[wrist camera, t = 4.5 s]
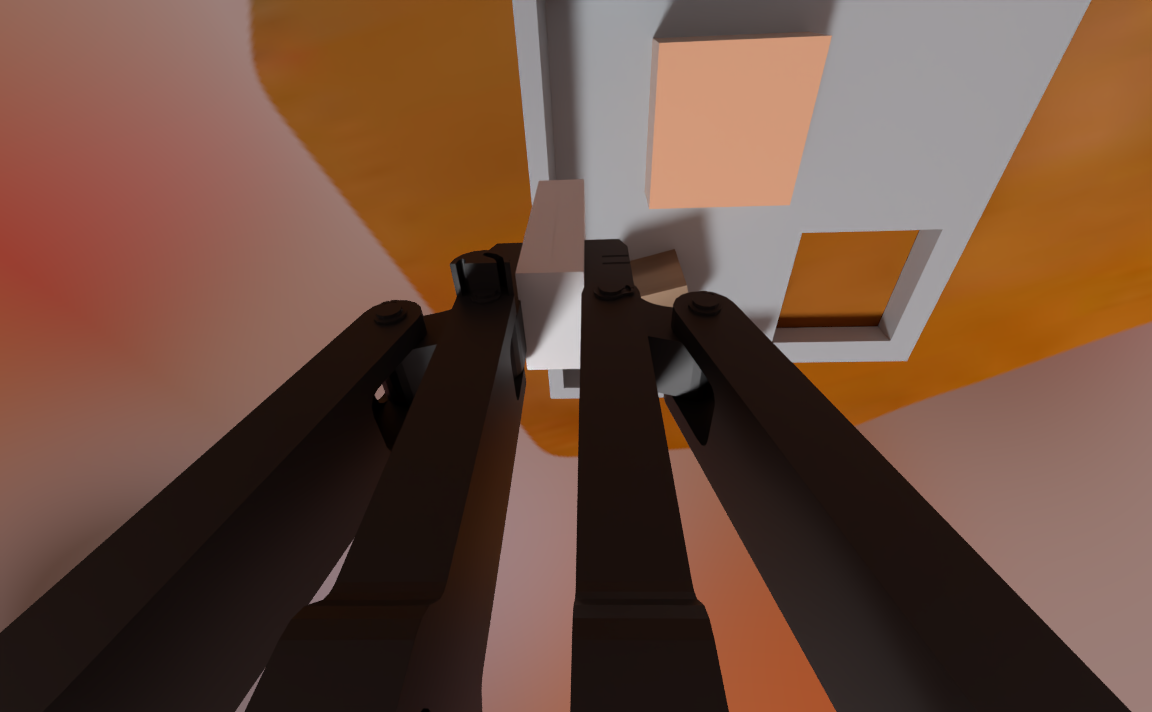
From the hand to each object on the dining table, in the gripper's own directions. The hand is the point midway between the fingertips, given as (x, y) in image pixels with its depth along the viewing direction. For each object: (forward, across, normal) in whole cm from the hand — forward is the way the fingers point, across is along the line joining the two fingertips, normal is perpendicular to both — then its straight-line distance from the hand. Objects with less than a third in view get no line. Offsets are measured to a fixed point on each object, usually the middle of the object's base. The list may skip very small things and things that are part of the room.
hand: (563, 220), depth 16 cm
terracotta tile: (+14, +8, 0) cm, 16 cm away
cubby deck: (+16, +12, -5) cm, 20 cm away
